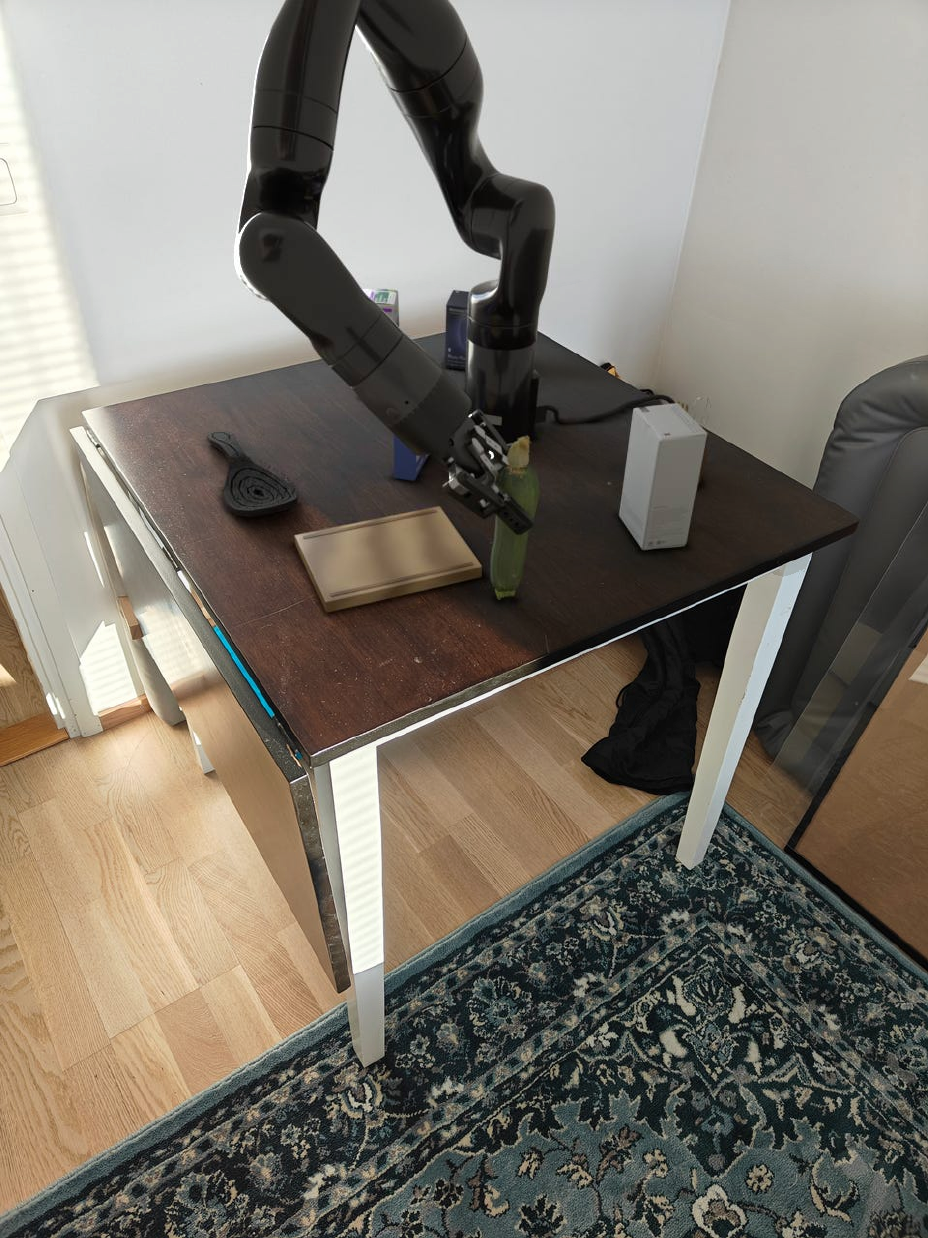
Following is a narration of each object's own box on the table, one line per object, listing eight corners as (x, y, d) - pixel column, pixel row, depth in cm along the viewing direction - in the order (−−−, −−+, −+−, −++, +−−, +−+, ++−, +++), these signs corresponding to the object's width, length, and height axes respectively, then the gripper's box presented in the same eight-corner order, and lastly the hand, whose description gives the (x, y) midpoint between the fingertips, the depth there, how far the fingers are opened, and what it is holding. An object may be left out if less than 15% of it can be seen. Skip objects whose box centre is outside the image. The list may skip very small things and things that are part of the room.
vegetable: (486, 581, 97) (497, 419, 84) (524, 581, 97) (541, 419, 84) (490, 607, 94) (502, 442, 81) (530, 606, 94) (548, 442, 81)
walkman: (414, 481, 113) (414, 395, 105) (394, 478, 113) (392, 392, 105) (430, 452, 118) (431, 368, 111) (410, 449, 119) (410, 365, 111)
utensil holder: (709, 478, 116) (730, 394, 108) (683, 496, 112) (703, 411, 104) (671, 461, 119) (689, 379, 111) (645, 478, 115) (662, 394, 107)
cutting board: (439, 516, 107) (439, 505, 106) (481, 577, 98) (482, 565, 97) (295, 545, 101) (294, 534, 100) (326, 613, 92) (325, 601, 91)
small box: (442, 369, 138) (444, 303, 132) (450, 352, 143) (451, 288, 136) (508, 376, 137) (513, 310, 130) (513, 359, 142) (518, 294, 135)
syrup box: (398, 400, 130) (397, 303, 120) (359, 398, 130) (354, 301, 120) (401, 383, 134) (400, 288, 125) (362, 381, 134) (358, 287, 125)
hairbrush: (241, 410, 120) (309, 490, 103) (245, 435, 122) (312, 517, 105) (181, 423, 116) (241, 508, 99) (186, 448, 119) (246, 535, 102)
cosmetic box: (686, 547, 103) (713, 435, 94) (638, 552, 102) (661, 439, 93) (658, 508, 110) (682, 399, 100) (614, 513, 109) (632, 403, 99)
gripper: (427, 406, 74) (554, 536, 81) (450, 339, 85) (560, 459, 92) (368, 455, 78) (494, 575, 85) (397, 385, 89) (507, 497, 96)
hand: (528, 514), depth 89 cm, fingers closed on vegetable, 4 cm apart
